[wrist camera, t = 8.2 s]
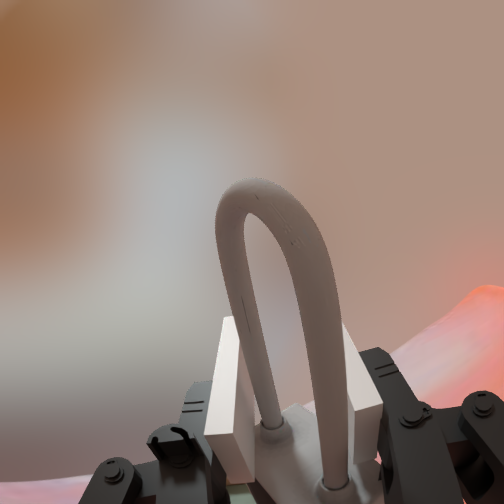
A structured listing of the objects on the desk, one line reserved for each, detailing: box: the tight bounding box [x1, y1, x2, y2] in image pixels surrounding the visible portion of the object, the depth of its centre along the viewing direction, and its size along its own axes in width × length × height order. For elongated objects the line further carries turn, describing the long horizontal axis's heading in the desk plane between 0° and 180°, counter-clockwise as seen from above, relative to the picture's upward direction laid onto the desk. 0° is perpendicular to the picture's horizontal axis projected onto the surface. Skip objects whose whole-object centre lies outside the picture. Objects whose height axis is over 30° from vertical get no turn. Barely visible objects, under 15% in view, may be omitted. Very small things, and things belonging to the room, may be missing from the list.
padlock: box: [215, 178, 385, 504], centre depth 8 cm, size 7×4×15 cm, turn 29°
